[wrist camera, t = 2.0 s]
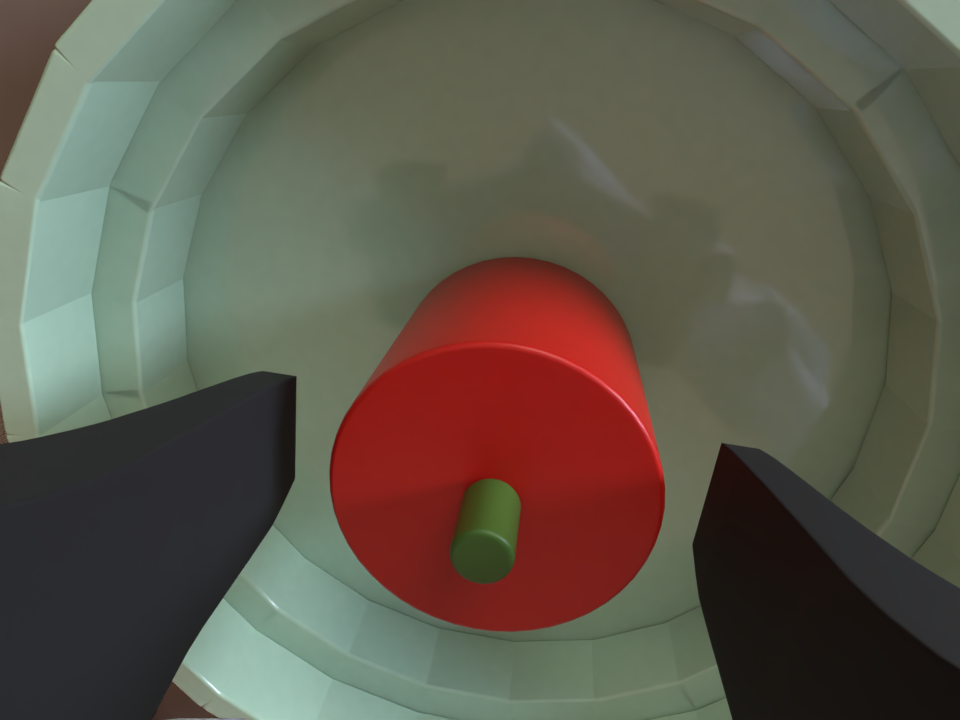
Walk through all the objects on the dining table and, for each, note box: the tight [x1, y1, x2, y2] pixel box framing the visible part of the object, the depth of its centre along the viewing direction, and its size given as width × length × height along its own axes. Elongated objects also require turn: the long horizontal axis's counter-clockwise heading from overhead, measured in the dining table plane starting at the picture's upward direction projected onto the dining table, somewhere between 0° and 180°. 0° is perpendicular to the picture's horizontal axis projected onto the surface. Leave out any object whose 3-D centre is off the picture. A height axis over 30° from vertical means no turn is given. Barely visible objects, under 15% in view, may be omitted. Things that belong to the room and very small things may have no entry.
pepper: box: [329, 257, 665, 632], centre depth 12 cm, size 5×5×7 cm
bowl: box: [0, 0, 960, 720], centre depth 14 cm, size 18×18×4 cm
